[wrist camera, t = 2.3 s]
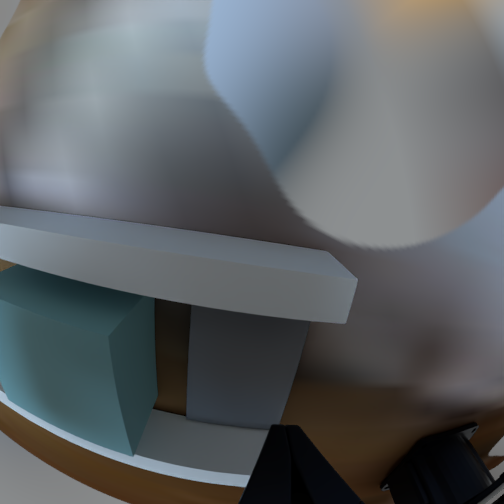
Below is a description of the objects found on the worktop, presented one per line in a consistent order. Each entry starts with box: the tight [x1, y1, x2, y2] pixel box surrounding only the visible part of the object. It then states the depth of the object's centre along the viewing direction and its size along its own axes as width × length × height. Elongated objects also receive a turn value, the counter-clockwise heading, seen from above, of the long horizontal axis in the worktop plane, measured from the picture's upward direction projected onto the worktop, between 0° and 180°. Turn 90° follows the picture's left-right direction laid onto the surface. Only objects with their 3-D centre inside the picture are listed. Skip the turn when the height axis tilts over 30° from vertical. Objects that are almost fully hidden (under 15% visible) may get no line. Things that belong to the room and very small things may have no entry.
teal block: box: [0, 264, 158, 457], centre depth 8 cm, size 6×6×4 cm
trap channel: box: [0, 206, 358, 487], centre depth 9 cm, size 15×10×3 cm, turn 81°
